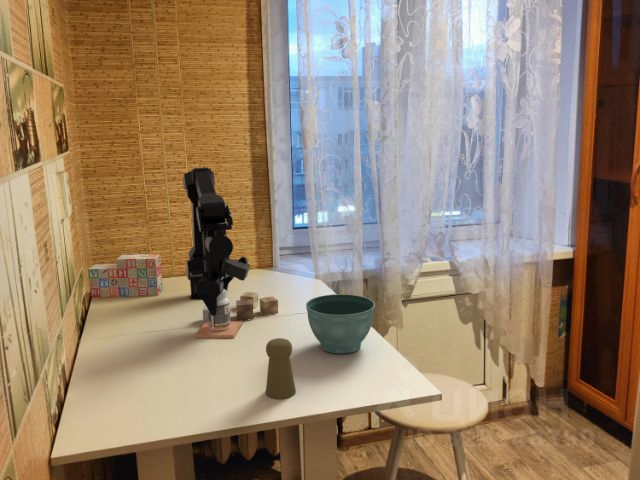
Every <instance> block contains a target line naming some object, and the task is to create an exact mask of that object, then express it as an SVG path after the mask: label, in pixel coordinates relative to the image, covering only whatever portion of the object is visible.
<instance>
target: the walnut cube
mask: <svg viewBox="0 0 640 480" xmlns="http://www.w3.org/2000/svg"><path fill="white" fill-rule="evenodd" d="M235 309H236V310H235V311H236V321H238V322H240V321H239V320H243V321H249V320H248V319H255V318H254V310H253V301H252V299H251V300H240V299H239V300H237V299H236V300H235Z"/></svg>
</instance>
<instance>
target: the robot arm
mask: <svg viewBox="0 0 640 480" xmlns="http://www.w3.org/2000/svg"><path fill="white" fill-rule="evenodd" d="M215 185H216V181H215V173H214V171H212V169H211V168H210V167H194V168H192V169H191V170H190V171H188V172H186V173H184V174H183V176H182V187H183V190H185V193H186V197H187V198H188V200H189V201H190V202H191V219H192V221H191V222H192V240H193V242H192V243H193V244H192V246H191V249H190V250H189V252H188V260H187V259H186V267H185V273H186V278H187V281H189V284H190V295H189V299H191V300H197V299H198V300H202V302H203V303H204V304H205V305H206V307H207V308H208V310H209V312H210V314H211V315H212V316H216V312H217V303H218V296H219V295H220V294H221V293H222V291H223V289H225V290H227V291H229V290H228V289H229V285H230V282H232V280H234V278H236V279H237V280H239V281H245V279H246V278H248V274H249V271H250V269H251V264H250V263H249V260H248V257H246V256H244V255H243V256H241V257H240V258H239V259H238V260H237V259H233V258H231V255H232V253H233V250H234V245H233V241H232V240H231V239H230V238H229V237H228V235H227V231H229V230H233V224H234V220H233V216H232V212H231V208H229V205H228V204H226V202H225V200H224V198H223V196H221V195H219V194H217V191H216V188H215ZM205 305H204V306H205Z"/></svg>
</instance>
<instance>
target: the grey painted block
mask: <svg viewBox="0 0 640 480" xmlns="http://www.w3.org/2000/svg"><path fill="white" fill-rule="evenodd" d="M206 321H208V308H207V307H206V305H204V307H203V308H202V322H203V324H204V323H205V322H206ZM203 324H202V325H203Z"/></svg>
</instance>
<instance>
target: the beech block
mask: <svg viewBox="0 0 640 480" xmlns="http://www.w3.org/2000/svg"><path fill="white" fill-rule="evenodd" d="M251 299H252V301H253V309H254V310H255V309H256V308H258V307H259V306H260V303H259V292H253V291H252V292H251V291H249V292H248V291H245V292H244V293H242V294H241V295H240V296H239V300H251ZM258 305H259V306H258ZM257 306H258V307H257Z"/></svg>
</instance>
